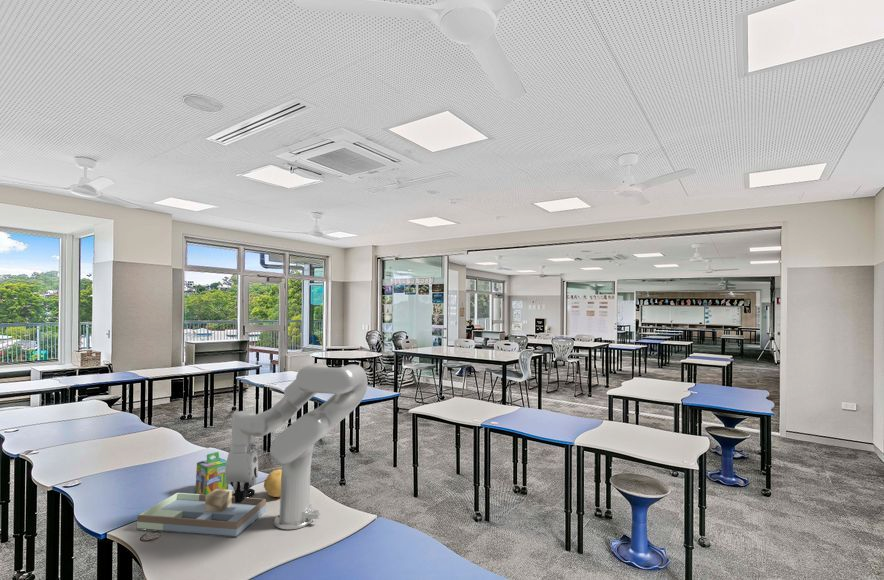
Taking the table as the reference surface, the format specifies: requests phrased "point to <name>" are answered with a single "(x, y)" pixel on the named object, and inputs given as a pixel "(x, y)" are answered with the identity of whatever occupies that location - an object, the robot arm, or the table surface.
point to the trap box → (200, 516)
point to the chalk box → (210, 475)
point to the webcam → (248, 491)
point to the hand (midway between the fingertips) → (239, 501)
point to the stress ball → (273, 483)
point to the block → (218, 500)
